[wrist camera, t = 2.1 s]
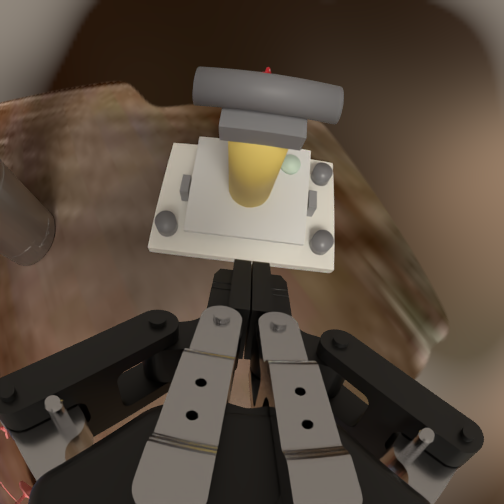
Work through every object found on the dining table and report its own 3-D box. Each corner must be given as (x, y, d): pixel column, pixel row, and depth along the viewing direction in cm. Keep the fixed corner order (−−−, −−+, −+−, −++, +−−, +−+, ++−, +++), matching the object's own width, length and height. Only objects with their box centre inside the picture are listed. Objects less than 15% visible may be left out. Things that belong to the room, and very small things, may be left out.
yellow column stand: (184, 231, 37) (130, 159, 16) (200, 140, 39) (178, 13, 17) (301, 245, 38) (384, 192, 16) (308, 154, 40) (372, 41, 18)
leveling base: (150, 251, 39) (142, 240, 35) (174, 149, 44) (171, 131, 40) (330, 273, 40) (340, 263, 36) (329, 168, 45) (338, 152, 42)
